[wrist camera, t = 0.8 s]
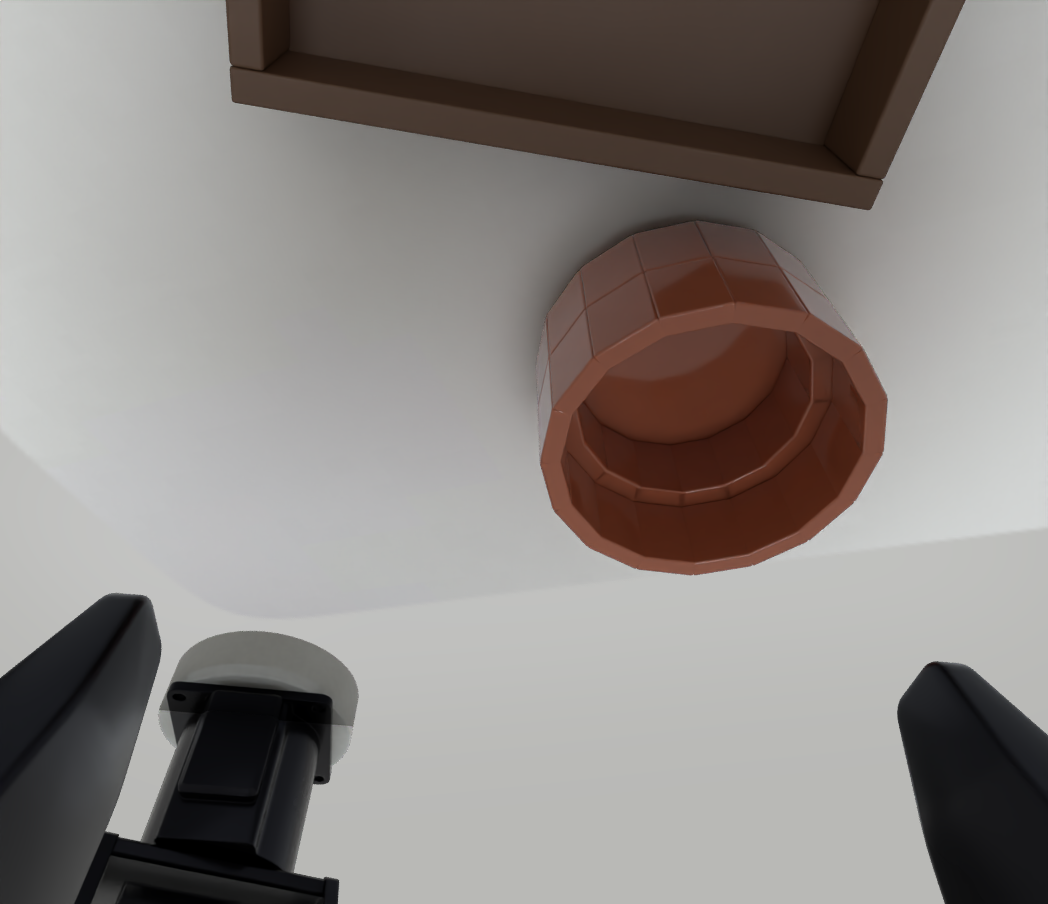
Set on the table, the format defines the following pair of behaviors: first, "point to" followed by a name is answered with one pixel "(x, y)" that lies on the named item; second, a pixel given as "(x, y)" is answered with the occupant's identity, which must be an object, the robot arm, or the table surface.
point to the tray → (615, 80)
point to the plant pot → (702, 402)
